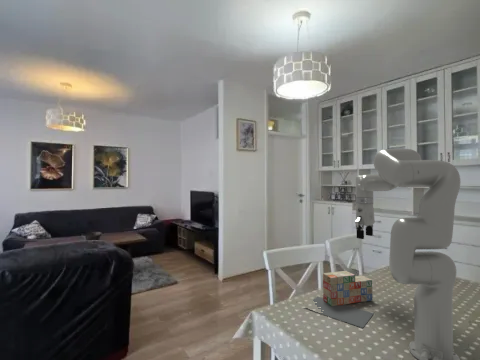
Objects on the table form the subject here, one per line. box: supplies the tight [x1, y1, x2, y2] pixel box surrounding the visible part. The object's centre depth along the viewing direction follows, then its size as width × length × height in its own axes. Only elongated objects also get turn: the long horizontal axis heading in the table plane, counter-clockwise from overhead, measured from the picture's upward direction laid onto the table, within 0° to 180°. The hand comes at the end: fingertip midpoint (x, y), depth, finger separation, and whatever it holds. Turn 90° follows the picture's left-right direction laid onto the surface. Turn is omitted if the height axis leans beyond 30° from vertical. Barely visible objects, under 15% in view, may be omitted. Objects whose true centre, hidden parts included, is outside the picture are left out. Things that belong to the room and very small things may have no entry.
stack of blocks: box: [322, 270, 373, 306], centre depth 118 cm, size 21×6×12 cm, turn 105°
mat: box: [312, 296, 375, 329], centre depth 109 cm, size 14×24×1 cm, turn 49°
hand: (364, 237), depth 125 cm, fingers open, 9 cm apart
